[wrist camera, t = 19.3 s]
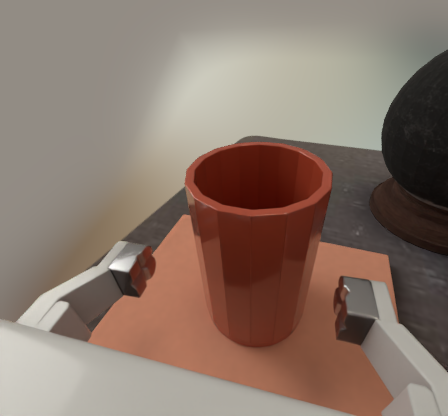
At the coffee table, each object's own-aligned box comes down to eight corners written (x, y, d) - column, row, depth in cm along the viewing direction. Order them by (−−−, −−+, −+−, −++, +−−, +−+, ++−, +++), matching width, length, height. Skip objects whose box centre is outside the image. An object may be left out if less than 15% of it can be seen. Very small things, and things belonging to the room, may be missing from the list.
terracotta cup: (191, 328, 16) (157, 199, 10) (226, 255, 21) (216, 137, 15) (295, 363, 14) (329, 230, 8) (307, 274, 19) (334, 147, 13)
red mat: (80, 361, 16) (74, 354, 15) (185, 221, 26) (183, 214, 26) (421, 522, 10) (431, 521, 10) (384, 263, 20) (388, 255, 20)
